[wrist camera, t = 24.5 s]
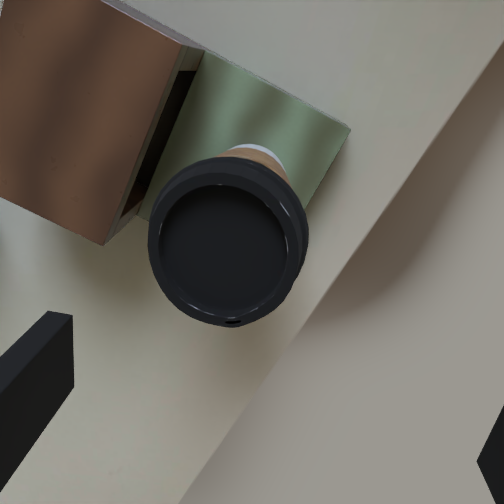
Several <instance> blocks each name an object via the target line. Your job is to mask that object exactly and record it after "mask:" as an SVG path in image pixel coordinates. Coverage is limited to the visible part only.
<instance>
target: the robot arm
mask: <svg viewBox="0 0 504 504" xmlns="http://www.w3.org/2000/svg"><path fill="white" fill-rule="evenodd" d="M73 388H74V355H73V315H69V314H63V313H58V312H52V311H47V312H46V313H45V314H44V315H43V316H42V317H41V318H40V319H39V320H38V321H37V322H36V323H35V324H34V325H33V326H32V327H31V328H30V329H29V330H28V331H27V332H25V333H24V334H23V335H22V336H21V337H20V338H19V339H18V340H17V341H16V342H15V343H14V344H13V345H12V346H11V347H10V348H9V349H8V350H7V351H6V352H5V353H4V354H3V355H2V356H1V357H0V492H1V490H2V489H3V488H4V486H5V485H6V483H7V482H8V480H9V479H10V478H11V476H12V475H13V473H14V472H15V471H16V469H17V468H18V466H19V465H20V463H21V462H22V461H23V459H24V458H25V456H26V455H27V453H28V452H29V451H30V449H31V448H32V446H33V445H34V443H35V442H36V441H37V439H38V438H39V436H40V435H41V433H42V432H43V431H44V429H45V428H46V426H47V425H48V423H49V422H50V421H51V419H52V418H53V416H54V415H55V413H56V412H57V411H58V409H59V408H60V406H61V405H62V404H63V402H64V401H65V399H66V398H67V396H68V395H69V394H70V392H71V391H72V389H73ZM477 463H478V466H479V468H480V470H481V472H482V474H483V476H484V479H485V481H486V483H487V485H488V487H489V490H490V492H491V494H492V496H493V498H494V501H495V503H496V504H504V406H503V408H502V410H501V412H500V414H499V416H498V418H497V420H496V423H495V424H494V426H493V429H492V430H491V433H490V435H489V437H488V439H487V441H486V443H485V445H484V447H483V449H482V451H481V453H480V455H479V457H478V459H477Z"/></svg>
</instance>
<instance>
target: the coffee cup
mask: <svg viewBox="0 0 504 504" xmlns="http://www.w3.org/2000/svg"><path fill="white" fill-rule="evenodd" d="M308 237H309V228H308V223H307V218H306V214H305V211H304V209H303V207H302V204H301V202H300V200H299V198H298V197H297V195H296V194H295V192H294V191H293V189H292V187H291V184H290V182H289V180H288V177H287V175H286V171H285V169H284V167H283V164H282V163H281V161H280V160H279V158H278V157H277V156H276V155H275V154H274V153H273V152H271V151H270V150H268V149H267V148H265V147H262V146H259V145H254V144H242V145H238V146H235V147H233V148H231V149H229V150H227V151H225V152H223V153H221V154H219V155H217V156H215V157H212V158H209V159H204V160H200V161H197V162H195V163H193V164H191V165H189V166H187V167H185V168H183V169H182V170H181V171H179V172H178V173H177V174H175V175H174V176H173V177H172V178H171V179H170V180H169V181H168V182H167V183H166V185H165V186H164V187H163V188H162V189H161V191H160V192H159V194H158V196H157V198H156V200H155V202H154V204H153V207H152V211H151V214H150V218H149V231H148V252H149V260H150V264H151V267H152V270H153V273H154V276H155V278H156V280H157V282H158V284H159V286H160V288H161V289H162V291H163V292H164V294H165V295H166V296H167V298H168V299H169V300H170V301H171V302H172V303H173V304H174V305H175V306H176V307H177V308H178V309H179V310H180V311H182V312H183V313H185V314H186V315H188V316H190V317H192V318H194V319H197V320H199V321H202V322H205V323H208V324H213V325H217V326H223V327H229V328H235V327H240V326H243V325H246V324H249V323H251V322H254V321H256V320H258V319H260V318H262V317H264V316H266V315H268V314H269V313H270V312H272V311H273V310H275V309H276V308H277V307H278V306H279V305H280V304H281V303H282V302H283V301H284V300H285V298H286V296H287V295H288V293H289V292H290V290H291V288H292V285H293V283H294V281H295V280H296V278H297V277H298V275H299V273H300V270H301V268H302V266H303V263H304V260H305V256H306V252H307V247H308Z"/></svg>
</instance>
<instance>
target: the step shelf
mask: <svg viewBox="0 0 504 504" xmlns="http://www.w3.org/2000/svg"><path fill="white" fill-rule="evenodd" d="M178 71H196V74H195V76H194V78H193V81H192V83H191V86H190V88H189V90H188V93H187V95H186V98H185V100H184V102H183V105H182V107H181V110H180V112H179V114H178V117H177V119H176V122H175V124H174V126H173V129H172V131H171V134H170V136H169V139H168V141H167V143H166V146H165V148H164V151H163V153H162V155H161V158H160V160H159V163H158V165H157V167H156V170H155V172H154V175H153V177H152V179H151V182H150V184H149V187H147V186H145V185H143V184H141V183H139V182H137V181H135V179H136V176H137V174H138V171H139V169H140V166H141V164H142V161H143V159H144V156H145V154H146V151H147V149H148V146H149V144H150V141H151V139H152V136H153V134H154V131H155V129H156V126H157V124H158V121H159V119H160V116H161V114H162V111H163V109H164V106H165V104H166V101H167V99H168V96H169V94H170V91H171V89H172V86H173V84H174V81H175V79H176V76H177V74H178ZM350 131H351V129H350V128H349V127H348V126H347V125H345V124H344V123H342V122H340V121H338V120H336V119H335V118H333V117H331V116H329V115H327V114H325V113H324V112H322V111H320V110H318V109H316V108H314V107H313V106H311V105H309V104H307V103H305V102H304V101H302V100H300V99H298V98H296V97H294V96H293V95H291V94H289V93H287V92H285V91H284V90H282V89H280V88H278V87H276V86H274V85H273V84H271V83H269V82H267V81H265V80H263V79H262V78H260V77H258V76H256V75H254V74H253V73H251V72H249V71H247V70H245V69H243V68H242V67H240V66H238V65H236V64H234V63H233V62H231V61H229V60H227V59H225V58H223V57H222V56H220V55H218V54H216V53H214V52H212V51H211V50H209V49H207V48H205V47H203V46H201V45H200V44H198V43H196V42H194V41H192V40H191V39H189V38H187V37H185V36H183V35H181V34H180V33H178V32H176V31H174V30H172V29H171V28H169V27H167V26H165V25H163V24H161V23H160V22H158V21H156V20H154V19H152V18H150V17H149V16H147V15H145V14H143V13H141V12H140V11H138V10H136V9H134V8H132V7H130V6H129V5H127V4H125V3H123V2H121V1H119V0H4V3H3V7H2V11H1V16H0V197H2V198H4V199H6V200H8V201H10V202H12V203H14V204H16V205H18V206H20V207H23V208H25V209H27V210H29V211H31V212H33V213H35V214H37V215H39V216H41V217H43V218H45V219H47V220H50V221H52V222H54V223H56V224H58V225H60V226H62V227H64V228H66V229H68V230H70V231H72V232H74V233H76V234H79V235H81V236H83V237H85V238H87V239H89V240H91V241H93V242H95V243H97V244H99V245H101V246H104V245H105V244H106V243H107V242H108V241H109V240H110V239H111V238H112V237H113V236H114V235H115V234H116V233H118V232H119V231H120V230H121V229H122V228H123V227H124V226H125V225H126V224H127V223H128V222H129V221H130V220H131V219H133V218H134V217H135V216H136V215H137V216H139V217H141V218H143V219H145V220H147V221H149V218H150V214H151V211H152V207H153V204H154V202H155V200H156V198H157V196H158V194H159V192H160V191H161V189H162V188H163V187H164V186H165V185H166V183H167V182H168V181H169V180H170V179H171V178H172V177H173V176H174V175H175V174H177V173H178V172H179V171H181V170H182V169H183V168H185V167H187V166H189V165H191V164H193V163H195V162H197V161H200V160H204V159H209V158H212V157H215V156H217V155H219V154H221V153H223V152H225V151H227V150H229V149H231V148H233V147H235V146H238V145H242V144H254V145H259V146H262V147H265V148H267V149H268V150H270V151H271V152H273V153H274V154H275V155H276V156H277V157H278V158H279V160H280V161H281V163H282V164H283V167H284V169H285V171H286V175H287V177H288V180H289V182H290V184H291V187H292V189H293V191H294V192H295V194H296V195H297V197H298V198H299V200H300V202H301V204H302V207H303V209H304V210H305V208H306V206H307V205H308V203H309V201H310V199H311V198H312V196H313V194H314V193H315V191H316V189H317V188H318V186H319V184H320V182H321V181H322V179H323V177H324V176H325V174H326V172H327V170H328V169H329V167H330V165H331V164H332V162H333V160H334V158H335V157H336V155H337V153H338V152H339V150H340V148H341V146H342V145H343V143H344V141H345V140H346V138H347V136H348V135H349V133H350Z"/></svg>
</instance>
